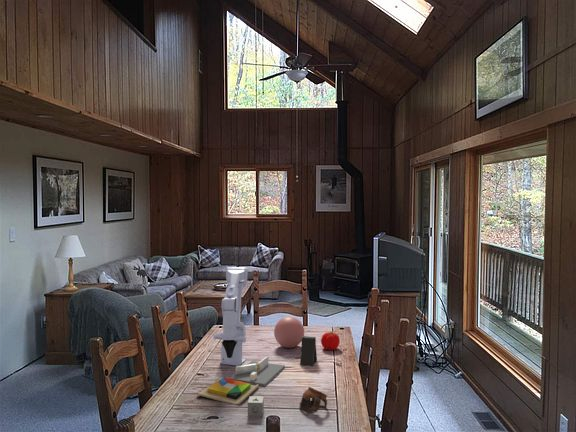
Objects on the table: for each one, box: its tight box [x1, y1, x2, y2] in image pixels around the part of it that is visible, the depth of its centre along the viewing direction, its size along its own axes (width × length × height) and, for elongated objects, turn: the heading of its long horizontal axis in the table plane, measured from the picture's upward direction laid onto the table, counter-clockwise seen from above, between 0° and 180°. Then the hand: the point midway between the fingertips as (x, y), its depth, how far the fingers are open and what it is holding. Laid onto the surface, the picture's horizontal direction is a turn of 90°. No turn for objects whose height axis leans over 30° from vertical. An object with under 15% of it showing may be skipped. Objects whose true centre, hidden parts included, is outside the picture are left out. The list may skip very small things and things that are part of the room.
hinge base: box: [229, 355, 285, 387], centre depth 194 cm, size 16×22×4 cm
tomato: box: [320, 331, 341, 351], centre depth 228 cm, size 9×10×8 cm
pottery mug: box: [298, 386, 328, 414], centre depth 161 cm, size 12×10×8 cm
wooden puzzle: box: [196, 376, 259, 406], centre depth 175 cm, size 18×19×4 cm
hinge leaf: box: [234, 363, 259, 375], centre depth 192 cm, size 11×1×3 cm, turn 114°
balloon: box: [273, 316, 305, 349], centre depth 232 cm, size 15×20×15 cm
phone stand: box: [299, 335, 318, 367], centre depth 208 cm, size 9×6×12 cm, turn 164°
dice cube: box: [247, 395, 265, 418], centre depth 158 cm, size 5×5×5 cm
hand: (229, 357), depth 193 cm, fingers closed
